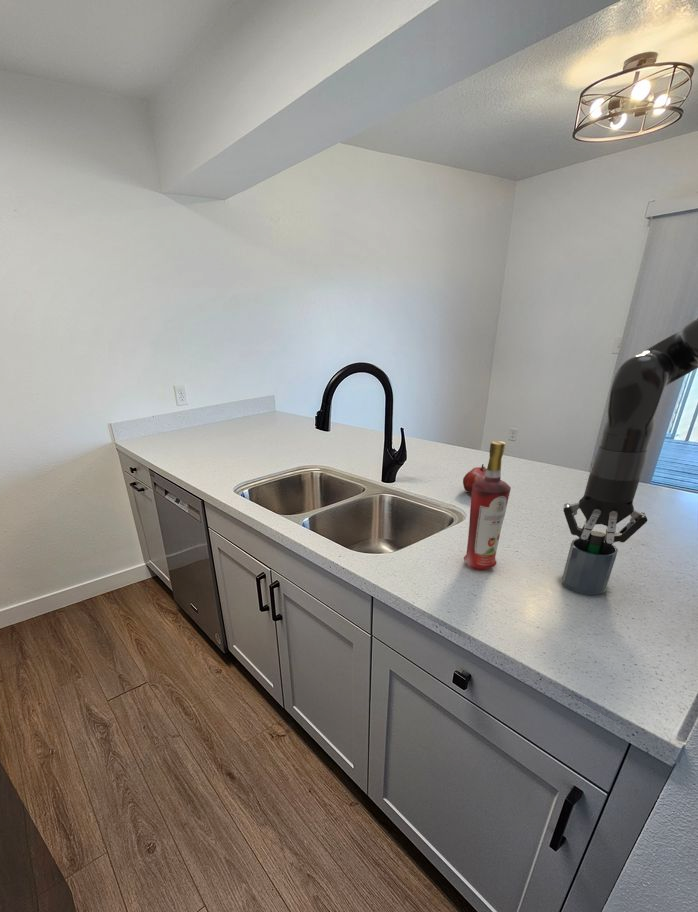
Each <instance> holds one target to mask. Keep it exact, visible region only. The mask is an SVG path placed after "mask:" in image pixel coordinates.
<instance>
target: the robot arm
mask: <svg viewBox="0 0 698 912" xmlns="http://www.w3.org/2000/svg"><path fill="white" fill-rule="evenodd" d="M697 369H698V316H697V317H696V318H694V319H693V320H691V321H690V322H688V323H687V324H686V325H685V326H683V327H682V328H681V329H680V330H678V331H677V332H675V333H673V334H670V336H668V337H666V338H664V339H662V340H660V341H658V342H657V343H655V344H653V345H652V346H649V347H648V348H647V349H644V350H643V351H641V352H640V353H637V354H636V355H633V356H631V357H630V358H627V360H625V361H623V362H622V363H621V364H620V366H619V367H618V368H617V370H616V372H614V375H613V377H612V378H613V379H612V382H611V386H610V391H609V398H608V404H607V414H606V419H605V421H604V424H603V428H602V431H601V435H600V439H599V443H598V446H597V449H596V452H595V454H594V456H593V459H592V463H591V465H590V471H589V473H588V479H587V482H586V487H585V489H584V494H583V496H582V497H581V498H580V499H579V501H578V502H575V503H564V505H563V514H564V517H565V520H566V523H567V525H568V529H569V532H570V534H571V535H572V536H577V538H579V541H578V544H577V548H578V549H580V550H582V551H586V547H587V544H588V537H589V535H590V533H591V531H594V530H593V529H594V527H595V526H596V525H602V526H605V539H604V542H603V545H602V547H601V550H600V553H599V555H608V554H609V553H610V549H611V546H612V545H614V543H616V542H617V543H626V541H627V540H629V539H630V538H631V537H633V535H634V534H636V532H638V531H639V530H640V529H641V528H642V527H643V526H644V525H645V524H646V523H647V522H648V517H647V514H646V513H645V512H641V511H638V510H636V509H635V507H634V499H635V496H636V492H637V490H638V487H639V483H640V480H641V477H642V474H643V471H644V467H645V464H646V458H647V452H648V448H649V446H650V443H651V439H652V436H653V432H654V429H655V424H656V423H655V422H656V420H655V415H656V413H657V411H658V408H659V404H660V402H661V398H662V395H663V393H664V390H665V387H667V386H669V385H670V384H672V383H674V382H675V381H677V380H680V379H681V378H683V377H684V376H687V375H688V374H690V373H692V372H693V371H695V370H697ZM579 510H580V511H581V514H582V515H583V516H584V518H585V520H584V522H583V523H584V524H583V525H582V527H580V526H578V522H577V520H576V517H575V516H576V515H578V511H579ZM629 516H630V517H629ZM628 517H629V519H628V520H629V522H628V523H627V524H625V526H624V527H622V528H621V529H620V530H619V532H616V531H617V524H619V523H620V522H622V521H624V520H625V519H627V518H628Z"/></svg>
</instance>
